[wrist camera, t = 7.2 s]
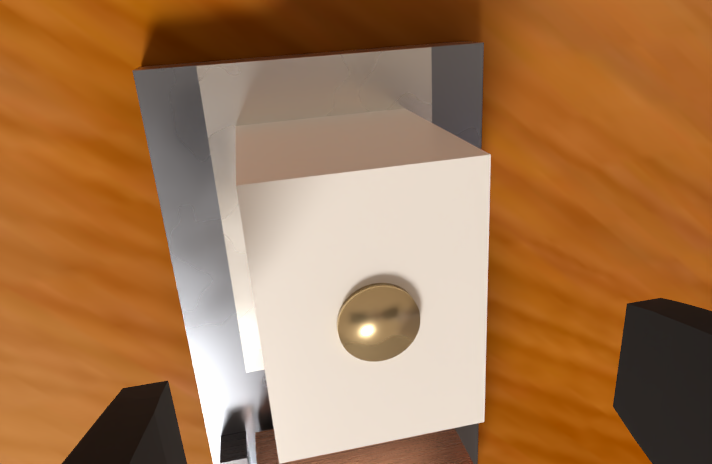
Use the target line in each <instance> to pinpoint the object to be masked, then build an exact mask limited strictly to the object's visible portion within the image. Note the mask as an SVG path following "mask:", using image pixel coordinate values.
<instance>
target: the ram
mask: <svg viewBox="0 0 712 464" xmlns="http://www.w3.org/2000/svg"><path fill="white" fill-rule="evenodd" d="M255 440H256V461H257V464H279V459H278V453H277V446H276V440H275V433H274V429H271V430H265V431H260V432H255ZM281 464H473V462H472V460H471V458H470V456H469V454H468V452H467V451H466V449H465V447H464V445H463V443H462V441H461V439H460V437H459V436H458V434H457V432H456V430H455V428H452V429H447V430H442V431H437V432H433V433H428V434H423V435H418V436H413V437H408V438H403V439H398V440H393V441H388V442H384V443H379V444H374V445H369V446H364V447H359V448H354V449H349V450H344V451H339V452H335V453H330V454H325V455H320V456H315V457H310V458H305V459H300V460H295V461H290V462H286V463H281Z"/></svg>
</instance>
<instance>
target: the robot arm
mask: <svg viewBox="0 0 712 464" xmlns="http://www.w3.org/2000/svg"><path fill="white" fill-rule="evenodd" d="M613 407H614V409H615V410H616V412H617V413H618V415H619V416H620V418H621V419H622V421H623V422H624V424H625V425H626V427H627V428H628V430H629V431H630V433H631V434H632V436H633V437H634V439H635V440H636V441H637V443H638V444H639V446H640V447H641V448H642V450H643V451H644V453H645V454H646V455H647V457H648V458H649V460H650V461H651V462H652V463H653V464H712V311H709V310H706V309H702V308H699V307H695V306H692V305H688V304H684V303H680V302H676V301H672V300H668V299H663V298H658V299H652V300H646V301H640V302H634V303H628V304H627V308H626V316H625V323H624V330H623V337H622V345H621V352H620V359H619V367H618V374H617V381H616V388H615V396H614V403H613ZM62 464H187V462H186V458H185V453H184V449H183V444H182V440H181V436H180V431H179V427H178V422H177V418H176V414H175V409H174V405H173V400H172V396H171V392H170V387H169V383H168V381H164V382H158V383H152V384H146V385H140V386H134V387H128V388H123V389H122V390H121V391H120V393H119V394H118V395H117V396H116V398H115V399H114V400H113V401H112V402H111V403H110V405H109V406H108V407H107V408H106V409H105V411H104V412H103V413H102V414H101V416H100V417H99V418H98V419H97V421H96V422H95V423H94V424H93V426H92V427H91V428H90V429H89V431H88V432H87V433H86V434H85V436H84V437H83V438H82V439H81V441H80V442H79V443H78V444H77V446H76V447H75V448H74V449H73V451H72V452H71V453H70V454H69V456H68V457H67V458H66V459H65V460H64V462H63V463H62Z"/></svg>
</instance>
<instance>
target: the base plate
mask: <svg viewBox="0 0 712 464" xmlns="http://www.w3.org/2000/svg"><path fill="white" fill-rule="evenodd" d="M483 52H484V43H482V42H472V41H459V42H446V43H434V44H421V45H408V46H396V47H383V48H370V49H357V50H345V51H332V52H319V53H307V54H294V55H281V56H269V57H256V58H243V59H231V60H218V61H205V62H192V63H180V64H167V65H154V66H142V67H139V68H137V69H135V70H133V75H134V79H135V84H136V89H137V94H138V99H139V104H140V109H141V114H142V118H143V123H144V128H145V133H146V138H147V143H148V148H149V153H150V158H151V162H152V167H153V172H154V177H155V182H156V187H157V192H158V197H159V201H160V206H161V211H162V216H163V221H164V226H165V231H166V236H167V240H168V245H169V250H170V255H171V260H172V265H173V270H174V275H175V280H176V284H177V289H178V294H179V299H180V304H181V309H182V314H183V319H184V323H185V328H186V333H187V338H188V343H189V348H190V353H191V358H192V363H193V367H194V372H195V377H196V382H197V387H198V392H199V397H200V402H201V406H202V411H203V416H204V421H205V426H206V431H207V436H208V441H209V445H210V450H211V455H212V460H213V464H257V461H256V440H255V432H260V431H265V430H271V429H274V427H273V420H272V414H271V408H270V401H269V395H268V388H267V382H266V375H265V369H264V363H263V356H262V350H261V343H260V337H259V330H258V324H257V318H256V311H255V305H254V298H253V292H252V285H251V279H250V273H249V266H248V260H247V253H246V247H245V240H244V234H243V228H242V221H241V215H240V208H239V202H238V195H237V189H236V126H239V125H249V124H258V123H268V122H277V121H287V120H296V119H306V118H316V117H325V116H335V115H344V114H354V113H363V112H373V111H383V110H392V109H402V108H405V109H407V110H409V111H411V112H413V113H414V114H416V115H418V116H420V117H422V118H424V119H426V120H427V121H429V122H431V123H433V124H435V125H437V126H439V127H440V128H442V129H444V130H446V131H448V132H450V133H452V134H453V135H455V136H457V137H459V138H461V139H463V140H465V141H466V142H468V143H470V144H472V145H474V146H476V147H478V148H479V149H481V138H482V95H483ZM455 430H456V432H457V434H458V436H459V437H460V439H461V441H462V443H463V445H464V447H465V449H466V451H467V452H468V454H469V456H470V458H471V460H472V462H473V464H477V461H478V423H477V424H472V425H467V426H462V427H457V428H455Z"/></svg>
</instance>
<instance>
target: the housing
mask: <svg viewBox="0 0 712 464" xmlns="http://www.w3.org/2000/svg"><path fill="white" fill-rule="evenodd" d="M490 166H491V154H489V153H487V152H485V151H483V150H481V149H479V148H478V147H476V146H474V145H472V144H470V143H468V142H466V141H465V140H463V139H461V138H459V137H457V136H455V135H453V134H452V133H450V132H448V131H446V130H444V129H442V128H440V127H439V126H437V125H435V124H433V123H431V122H429V121H427V120H426V119H424V118H422V117H420V116H418V115H416V114H414V113H413V112H411V111H409V110H407V109H405V108H402V109H392V110H383V111H373V112H363V113H354V114H344V115H335V116H325V117H316V118H306V119H296V120H287V121H277V122H268V123H258V124H249V125H239V126H236V189H237V195H238V202H239V208H240V215H241V221H242V228H243V234H244V240H245V247H246V253H247V260H248V266H249V273H250V279H251V285H252V292H253V298H254V305H255V311H256V318H257V324H258V330H259V337H260V343H261V350H262V356H263V363H264V369H265V375H266V382H267V388H268V395H269V401H270V408H271V414H272V420H273V427H274V433H275V440H276V446H277V453H278V459H279V464H281V463H286V462H290V461H295V460H300V459H305V458H310V457H315V456H320V455H325V454H330V453H335V452H339V451H344V450H349V449H354V448H359V447H364V446H369V445H374V444H379V443H384V442H388V441H393V440H398V439H403V438H408V437H413V436H418V435H423V434H428V433H433V432H437V431H442V430H447V429H452V428H457V427H462V426H467V425H472V424H477V423H482V422H484V417H485V375H486V333H487V291H488V249H489V208H490Z"/></svg>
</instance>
